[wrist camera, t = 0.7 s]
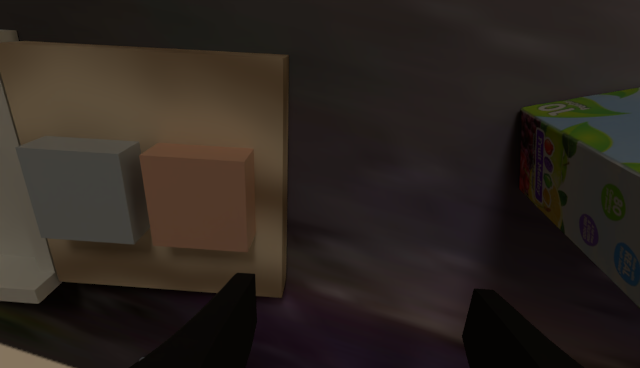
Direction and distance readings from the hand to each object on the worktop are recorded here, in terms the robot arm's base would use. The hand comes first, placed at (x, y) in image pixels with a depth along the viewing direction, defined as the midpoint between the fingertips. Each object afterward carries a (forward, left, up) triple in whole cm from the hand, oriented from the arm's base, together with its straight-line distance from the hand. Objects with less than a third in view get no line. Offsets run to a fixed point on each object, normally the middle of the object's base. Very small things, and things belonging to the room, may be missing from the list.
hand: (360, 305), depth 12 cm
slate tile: (0, +14, -8) cm, 16 cm away
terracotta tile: (0, +8, -8) cm, 11 cm away
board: (0, +11, -10) cm, 15 cm away
